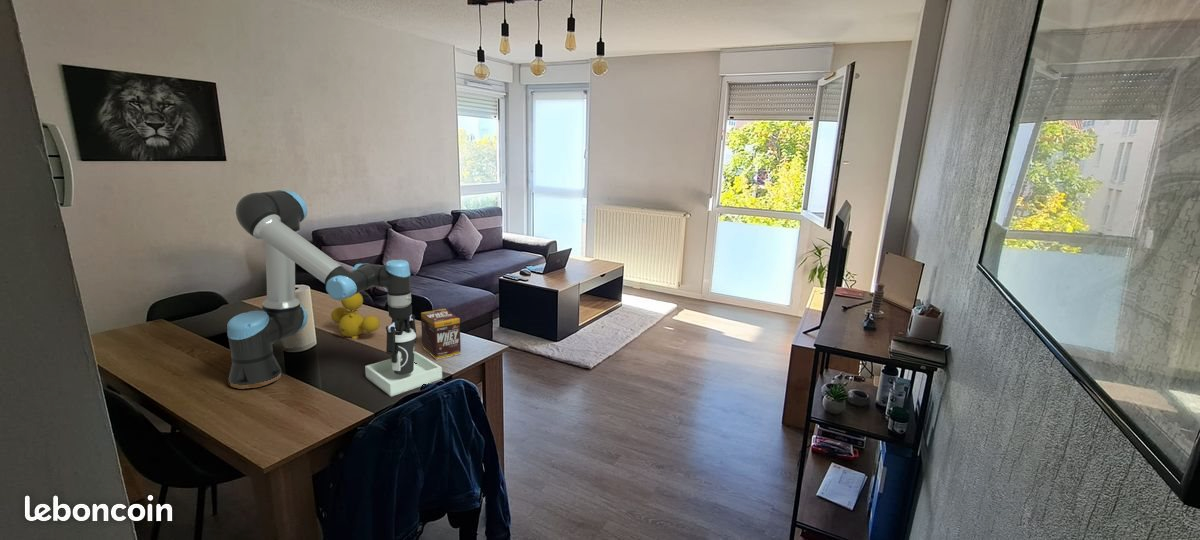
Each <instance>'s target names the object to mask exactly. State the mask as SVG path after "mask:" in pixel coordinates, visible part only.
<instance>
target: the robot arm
mask: <svg viewBox="0 0 1200 540" xmlns="http://www.w3.org/2000/svg"><path fill="white" fill-rule="evenodd" d="M307 216H308V207H307V204H306V202H305V200H304V199H303V198H302V197H301V196H300V194H298V193H296V192H294V191H292V190H284V189H283V190H280V189H279V190H278V189H277V190H272V191H265V192H264V191H263V192H252V193H249V194H246V195H244V196H243V197H242V198H241V199H240V200H239V201H238V203H237V204H236V208H235V217H236V219H237V222H238V224H239V225H240V226H241V227H242V229H243V230H245V232H247V233H248V234H249V235H251V236H252V237H253V238H254V239H256V240H263V241H265V260H266V261H265V267H266V271H265V273H266V275H265V276H266V298H265V299H264V300H263V301H262V303H261V307H262V308H261V310H250V311H247V312H242V313H240V314H237V315H235V316H233V317H232V318H230V320H228V322H227V324H226V325H227V326H226V328H227V331H226V334H227V335H226V336H227V338H228V344H229V350H230V357H231V366H230V370H229V375H228V380H229V381H228V380H227V381H228V383H229V382H230V383H233V384H238V385H247V384H255V383H260V382H264V381H268V380H271V379H273V378H275V377H277V376H278V375H279V374H280V373H282V374H283V372H282V368H281V366H280V364H279V362H278V361H277V359H276V357H275V355H274V351H273V350H274V349H273V345H274V344H276V343H278V342H279V341H282V340H284V339H286V338H288V337H292V336H294V335H296V334H297V333H298V332H300V331H302V330H303V329H304V328H305V326H306V324H307V322H308V312H307V310H306V309H305V307H304V305H303V307H302V306H301V307H300V304H301V301H300V300H299V298H297V297H296V264H297V265H298V266H299V267H301V268H302V269H303V270H305V271H306V272H308V273H309V274H311V275H312V276H313V277H314V278H316V279H318V280H319V281H320V282H321V283H323V284H324V285H325V290H326V293H327V294H328V296H329V297H330V298H332V299H333V300H337V301H340V300H342V299H346V298H349V297H352V296H353V295H355V294H357V293H360V292H364V291H366V290H369V289H371V288H373V287H374V288H375V287H377V288H386V290H387V292H386V293H387V305H388V306H387V307H388V308H387V309H388V310H387V311H388V316H389V317H390V318H391V322H390V323H391V324H390V325H386V326H385V330H386V348H385V349H386V350H385V352H386V355H390V359H391V362H392V370H395V371H400V370H401V368H400V353H398V349H399V348H398V343H395V335H402V334H403V331H404V332H406V333H410V328H411V329H413V330H414V332H415V333H416V338H415V344H416V343H417V339H418V335H417V327H416V322H415V321H416V315H415V314H412V313H413V305H412V304H411V303H412V291H411V290H412V289H411V269H410V263H409V262H408V260H404V259H391V260H387V262H385V265H381V264H374V263H373V264H370V263H366V262H365V263H357V264H355V265H354V267H352V268H351V270H349V269H347V268H345V267H344V266H343V265H341V264H340V263H338V262H337V261H336V260H334V259H333V258H332V257H330V256H329V255H328V254H326V253H325V252H323V251H322V250H320V249H319V248H318V247H316V246H315V245H314V244H312V243H311V242H310V241H308V240H307V239H306V238H305V237H303V236H302V235H300V233H299V232H300V229H301V228H300V225H301V222H303V221H304V219H306V218H307ZM298 233H299V234H298ZM395 330H396V331H400V332H396V331H395Z"/></svg>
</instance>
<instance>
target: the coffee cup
mask: <svg viewBox="0 0 1200 540" xmlns="http://www.w3.org/2000/svg"><path fill="white" fill-rule="evenodd" d="M395 331H396V330H395ZM396 332H400V331H396ZM416 334H417V332H416V333H415V332H414V330H413V329H411V328H410V333H406V332H404V331H403V334H402V335H395V343H398V348H399V349H398V353H400V368H401V370H400V371H395V370H394V373H395V374H398V375H405V374H409V373H411V372H412V371H413V370H414V352H415V347H416V346H415V344H416V343H415V341H416V340H415V338H416Z"/></svg>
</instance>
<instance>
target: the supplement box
mask: <svg viewBox="0 0 1200 540" xmlns="http://www.w3.org/2000/svg"><path fill="white" fill-rule="evenodd" d="M420 320H421V322H420V323H421V325H420V326H421V345H422V346H423V347H424V348H425V349H426V350H427V351H428V352H429V353H431V354H432V355H433V356H434V357H435V358H436V359H437V358H442V357H447V356H451V355H455V354H459V353H461V354H462V352H461V351H462V349H461V347H462V346H461V322H460V321H461V318H459V316H456V315H455V314H454V313H452V312H451V311H449V310H448V309H446V308H441V309H435V310H429V311H424V312H420ZM426 350H425V351H426ZM427 351H426V352H427ZM428 352H427V353H428ZM429 353H428V354H429Z"/></svg>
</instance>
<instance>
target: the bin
mask: <svg viewBox="0 0 1200 540" xmlns="http://www.w3.org/2000/svg"><path fill="white" fill-rule="evenodd" d="M414 362H415V363H417V364H415V363H414V370H413V371H412V372H411V373H409V374H405V375H398V374H395V373H394V370H392V362H391V358H388V359H385V360H381V361H378V362H375V363H371V364H367V365H365V366H364V367H365V368H364V369H365V378H366V379H367V380H368V381H370V382H371V383H373V384H374V385H375V386H376V387H378V388H379V390H382V391H383V392H384V393H386V394H387V395H388V396H390V397H394V396H396V395H401V394H403V393H405V392H406V393H407V392H408V391H412V390H414V389H417V388H420V387H423V386H424V385H423V384H426V385H428V383H429V384H431V383H434V382H436V381H439V380H442V379H443V367H442V366H440V365H439V364H437V363H436V362H434V361H432V360H430V359H429V358H427V357H425V356H424V355H422V354H421V353H418V352H417V351H415V350H414ZM422 385H423V386H422Z"/></svg>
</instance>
